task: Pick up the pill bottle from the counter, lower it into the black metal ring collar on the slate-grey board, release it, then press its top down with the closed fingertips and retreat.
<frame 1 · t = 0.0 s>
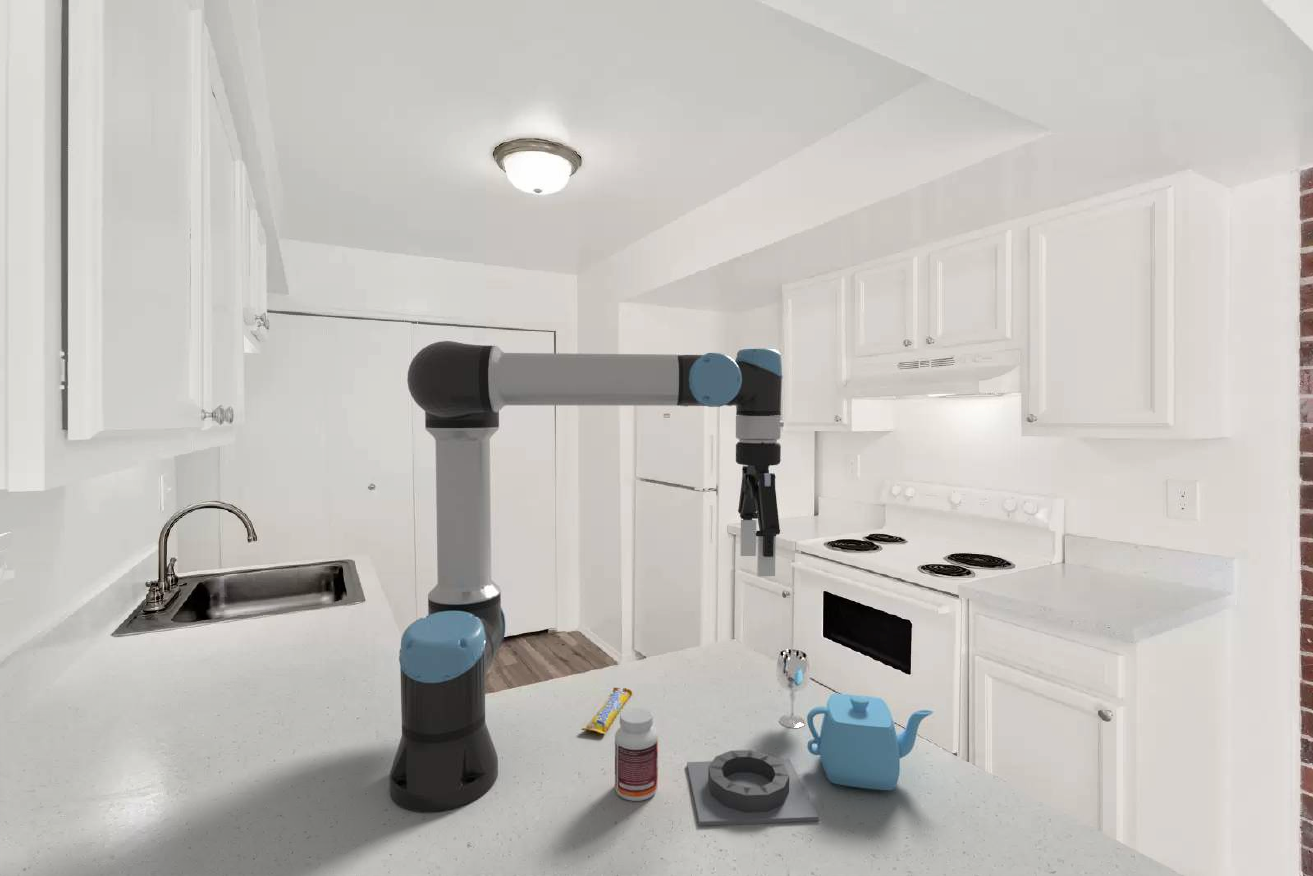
hand: (756, 565, 109), 28 cm above the countertop, fingers open, 13 cm apart
teapot: (867, 774, 96), on the countertop
wineglass: (792, 722, 112), on the countertop
grey ring base plate: (748, 791, 91), on the countertop
candy bar: (609, 716, 115), on the countertop
pill bottle: (636, 791, 92), on the countertop
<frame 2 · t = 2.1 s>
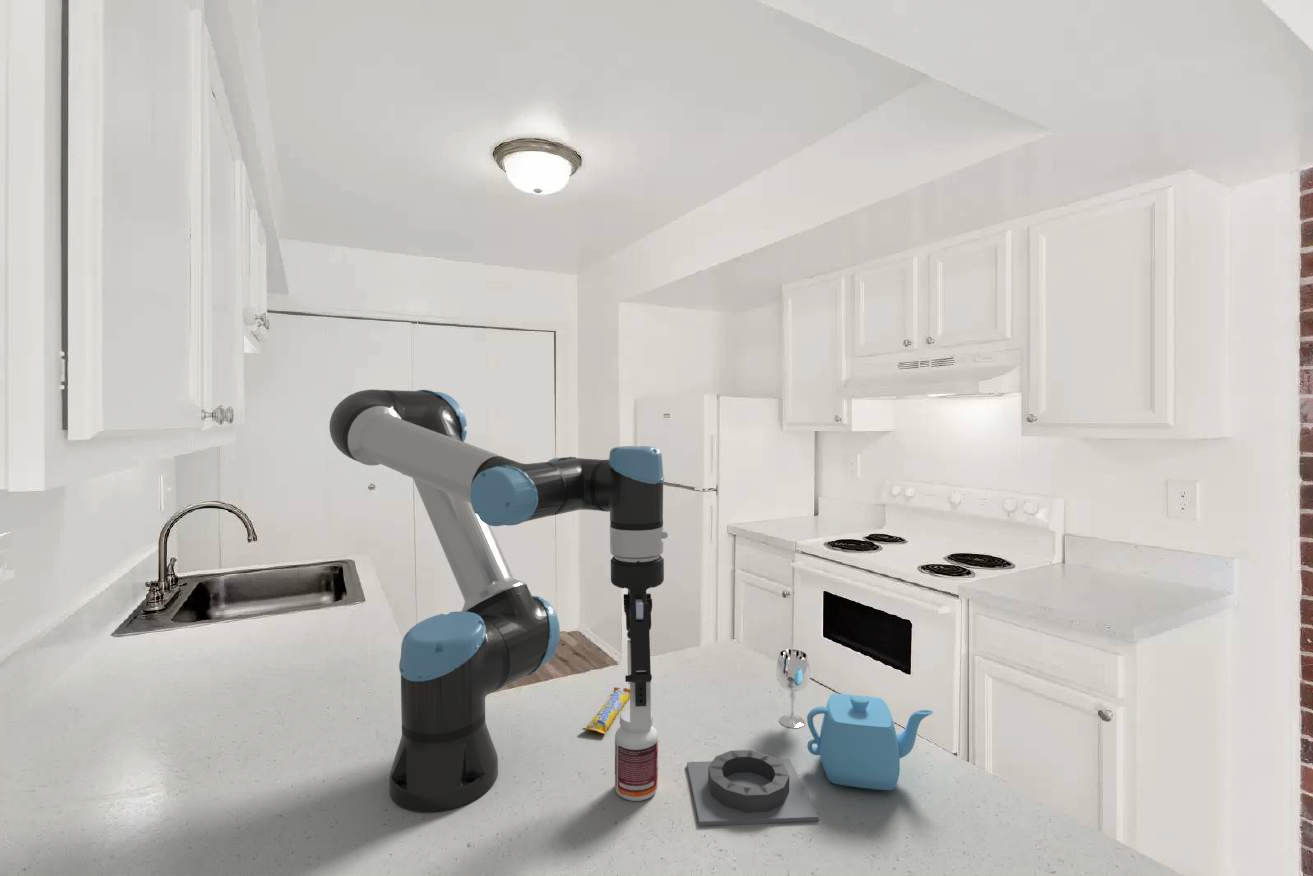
hand: (638, 703, 91), 13 cm above the countertop, fingers open, 13 cm apart
nothing on the countertop moved.
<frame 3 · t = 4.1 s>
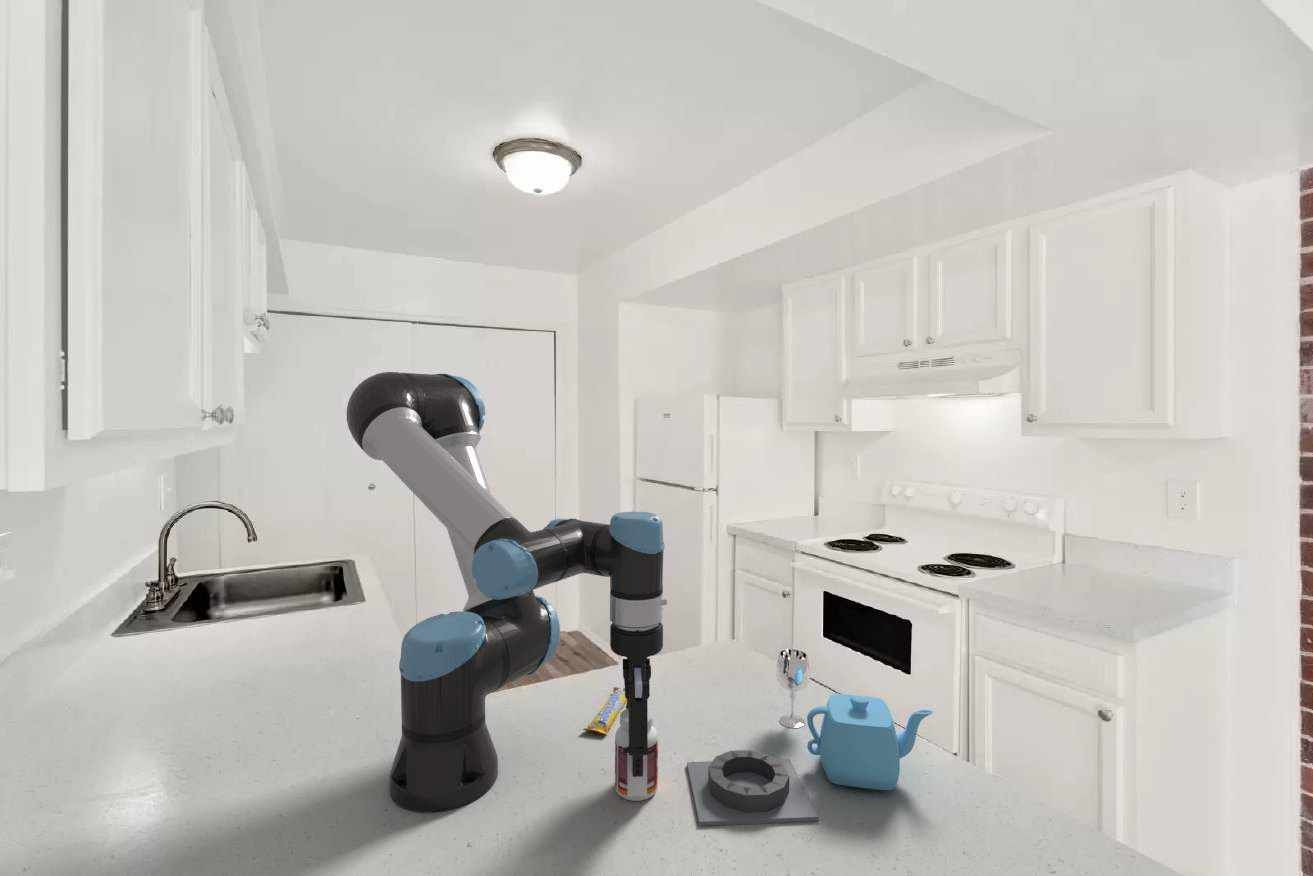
hand: (636, 779, 92), 1 cm above the countertop, fingers closed on pill bottle, 6 cm apart
pill bottle: (636, 790, 92), on the countertop, touching gripper
everything else where it was.
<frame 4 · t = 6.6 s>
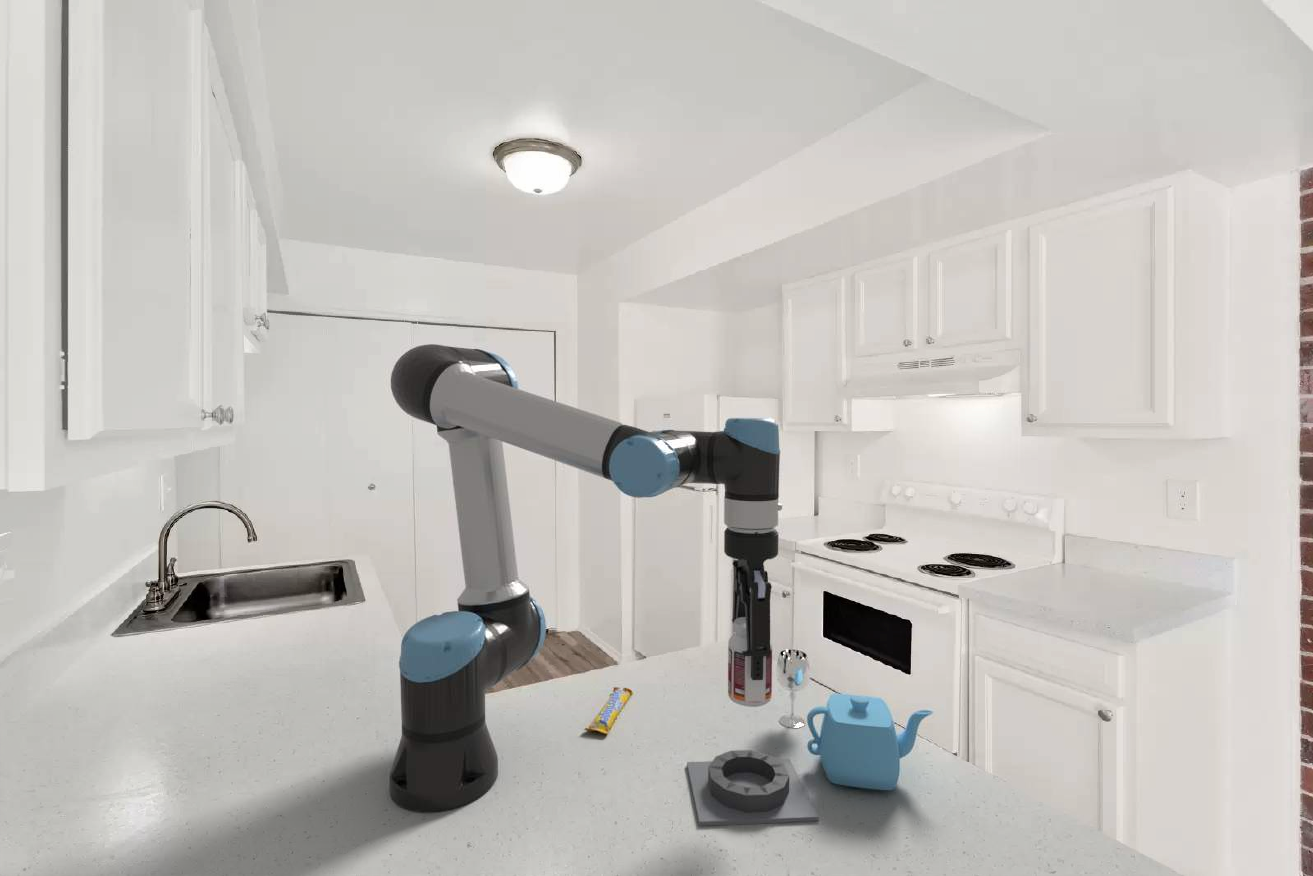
hand: (749, 688, 91), 15 cm above the countertop, fingers closed on pill bottle, 6 cm apart
pill bottle: (749, 699, 91), point 14 cm above the countertop, touching gripper
everything else where it was.
when the fingers open (4 cm above the countertop, at t = 9.2 s): pill bottle drops 2 cm, resting on grey ring base plate.
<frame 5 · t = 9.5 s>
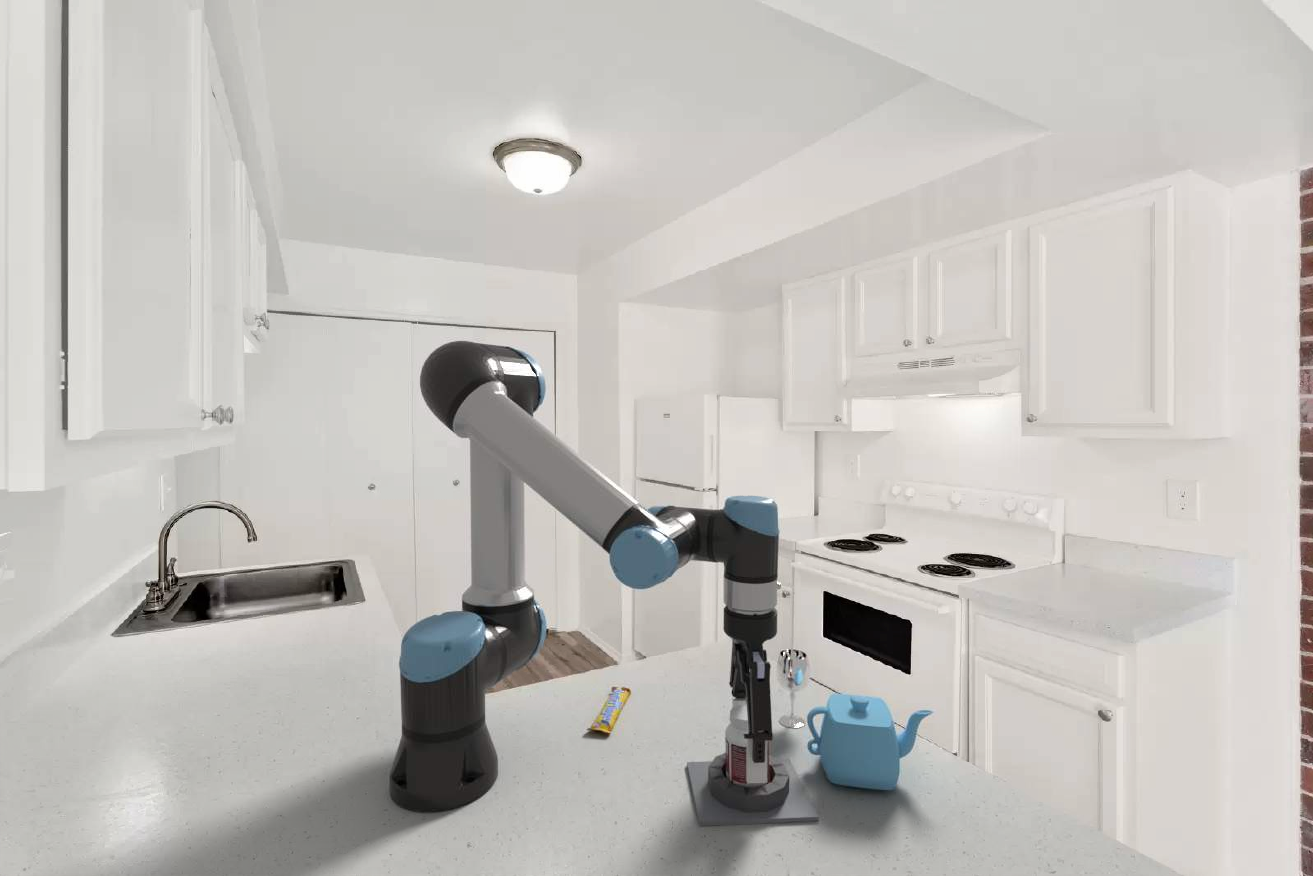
hand: (748, 760, 91), 5 cm above the countertop, fingers open, 9 cm apart
pill bottle: (747, 789, 91), resting on grey ring base plate
everything else where it was.
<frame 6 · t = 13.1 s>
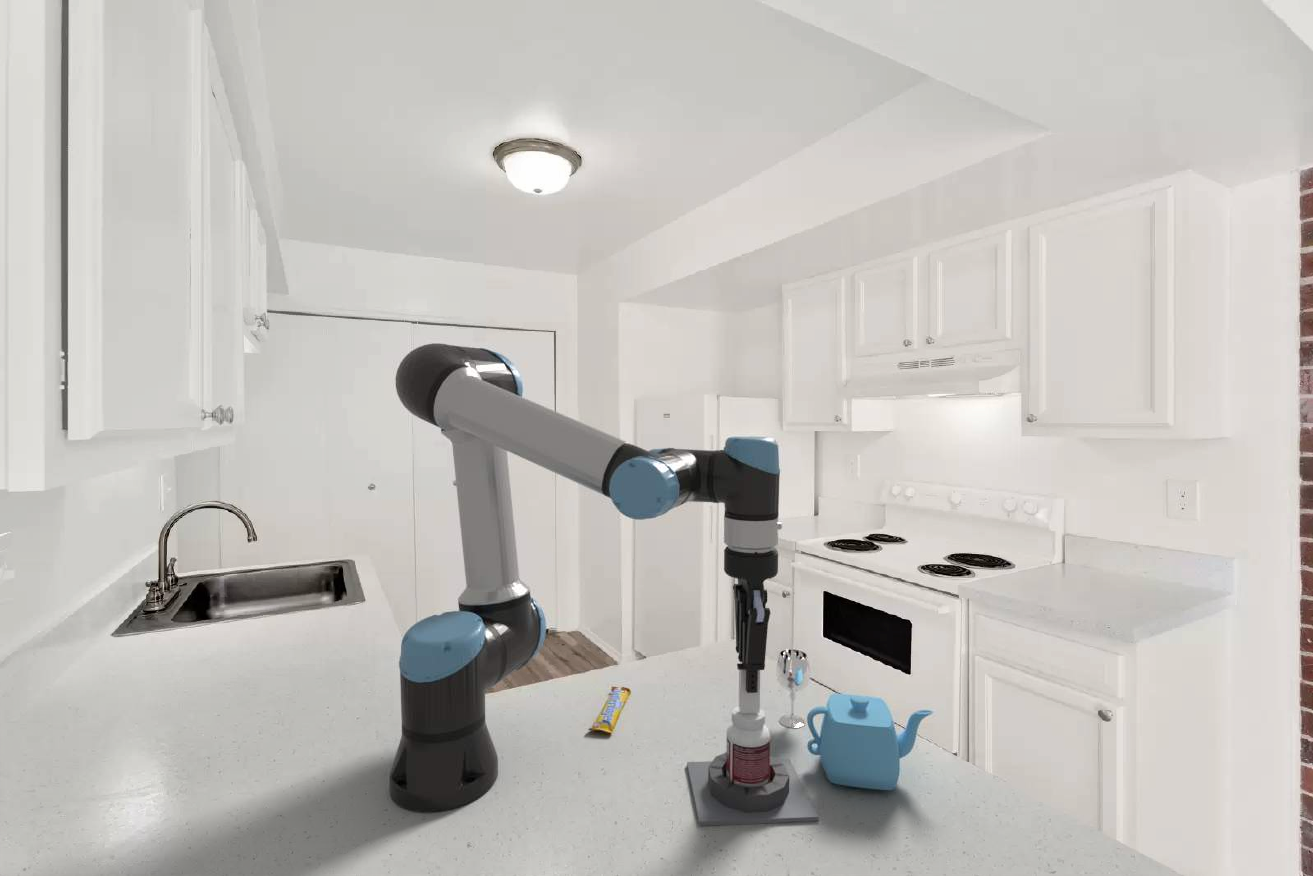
hand: (749, 710, 91), 12 cm above the countertop, fingers closed
nothing on the countertop moved.
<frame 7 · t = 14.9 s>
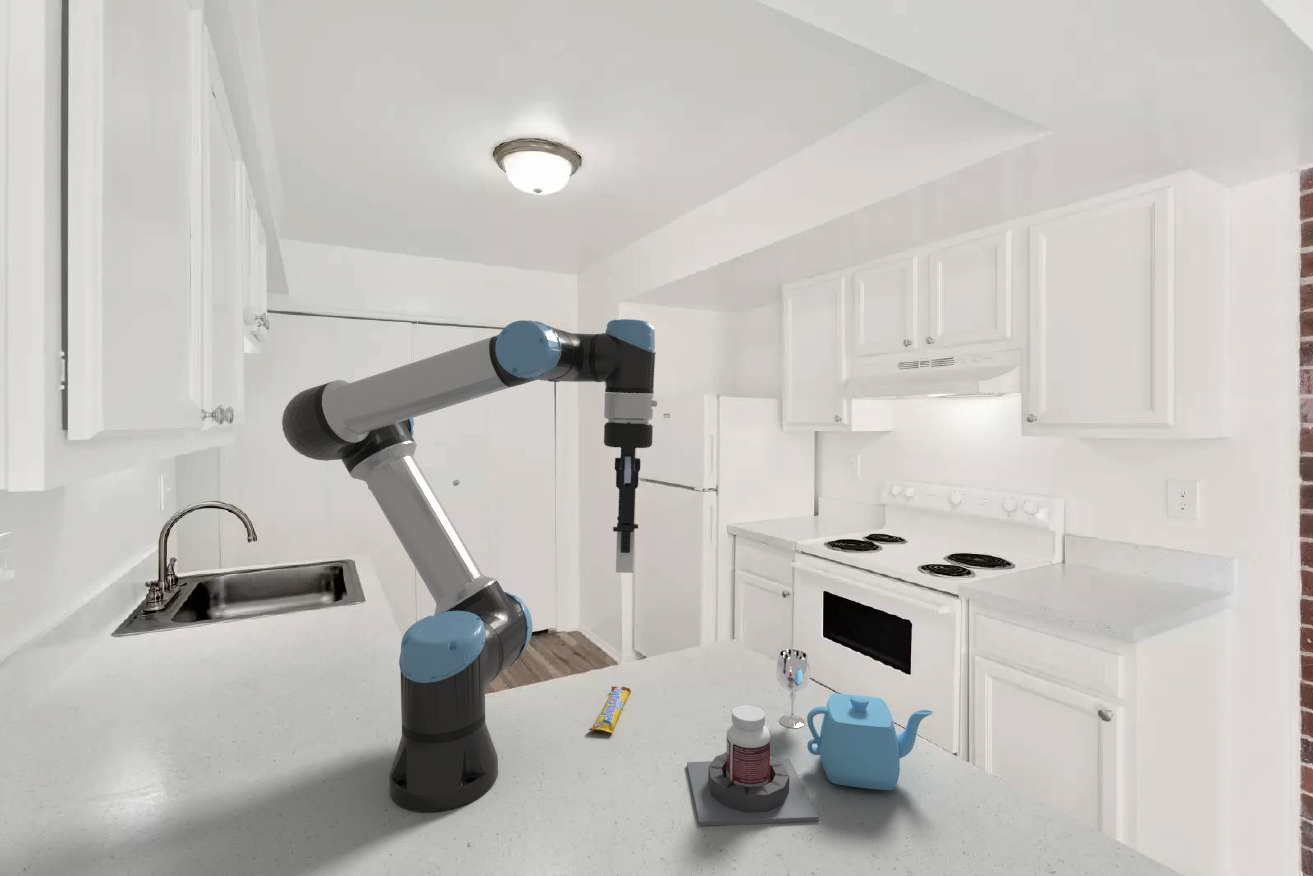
hand: (624, 571, 100), 29 cm above the countertop, fingers closed
nothing on the countertop moved.
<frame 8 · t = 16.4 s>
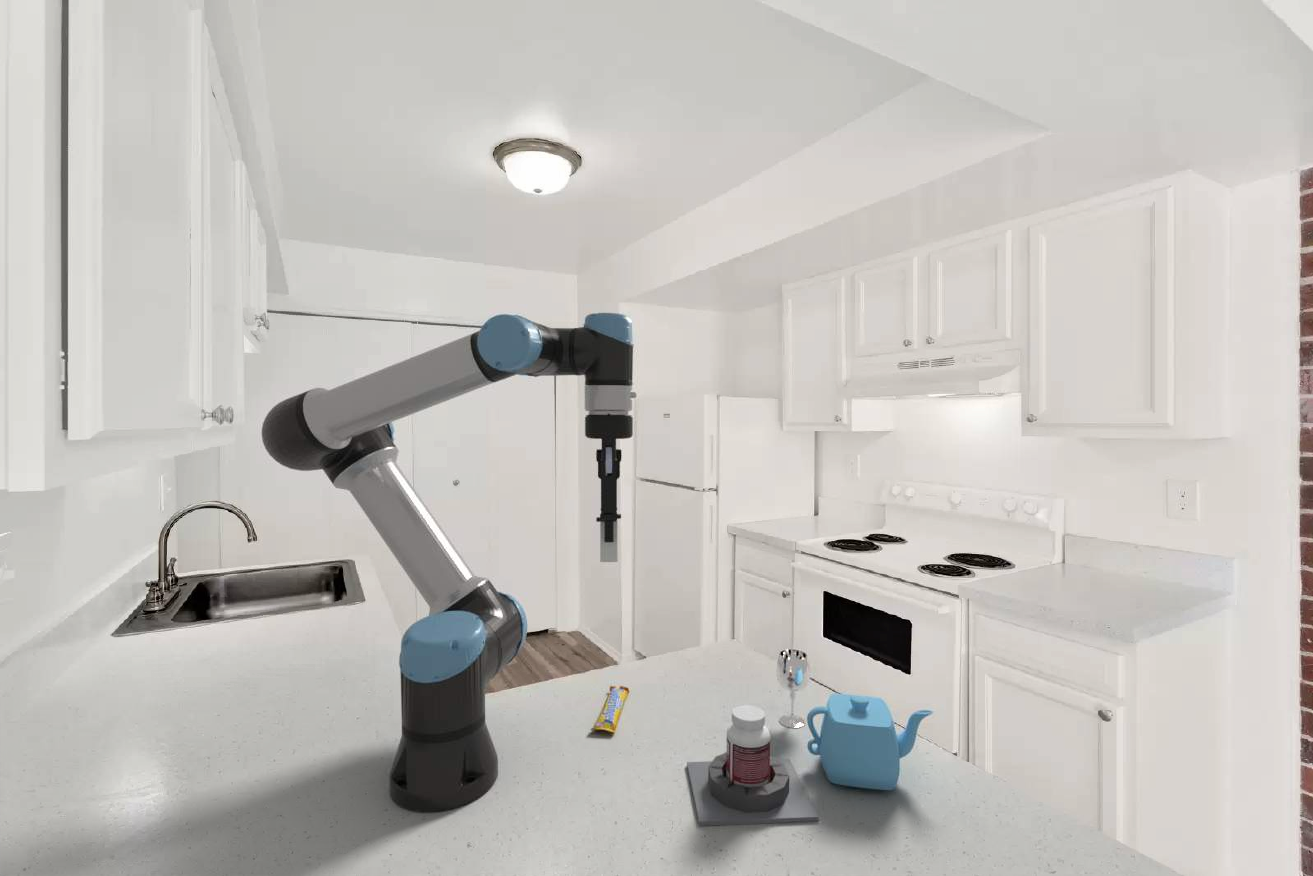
hand: (608, 560, 102), 30 cm above the countertop, fingers closed
nothing on the countertop moved.
at the end: pill bottle 0.1 cm off-centre on the grey ring base plate, point 0.4 cm above the grey ring base plate's base; pill bottle tilted 0°; the gripper is holding nothing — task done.
